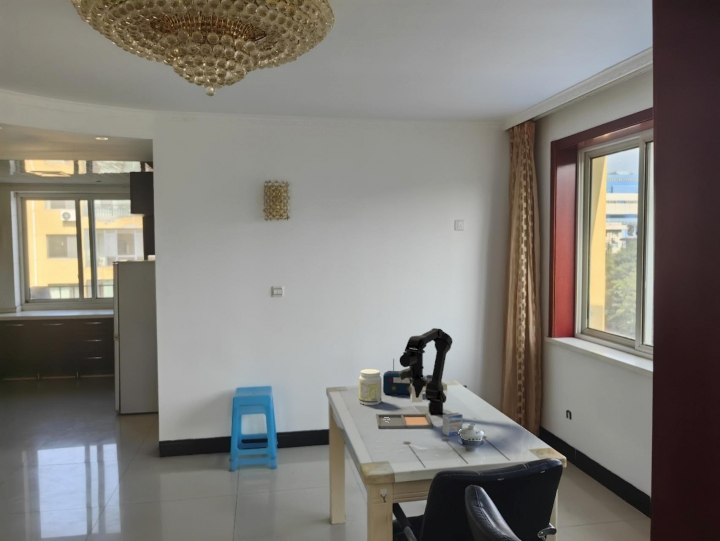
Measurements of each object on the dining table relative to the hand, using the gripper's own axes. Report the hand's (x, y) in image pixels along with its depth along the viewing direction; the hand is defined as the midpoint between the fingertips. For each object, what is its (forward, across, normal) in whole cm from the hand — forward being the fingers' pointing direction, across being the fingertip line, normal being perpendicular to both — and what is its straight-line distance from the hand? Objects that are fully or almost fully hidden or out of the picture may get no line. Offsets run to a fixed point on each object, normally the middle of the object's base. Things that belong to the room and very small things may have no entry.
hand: (416, 396), depth 248 cm
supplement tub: (+13, -33, -20) cm, 41 cm away
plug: (+2, 0, 0) cm, 2 cm away
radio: (+13, -49, -1) cm, 51 cm away
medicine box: (+13, +15, +14) cm, 24 cm away
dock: (+12, 0, -6) cm, 14 cm away
